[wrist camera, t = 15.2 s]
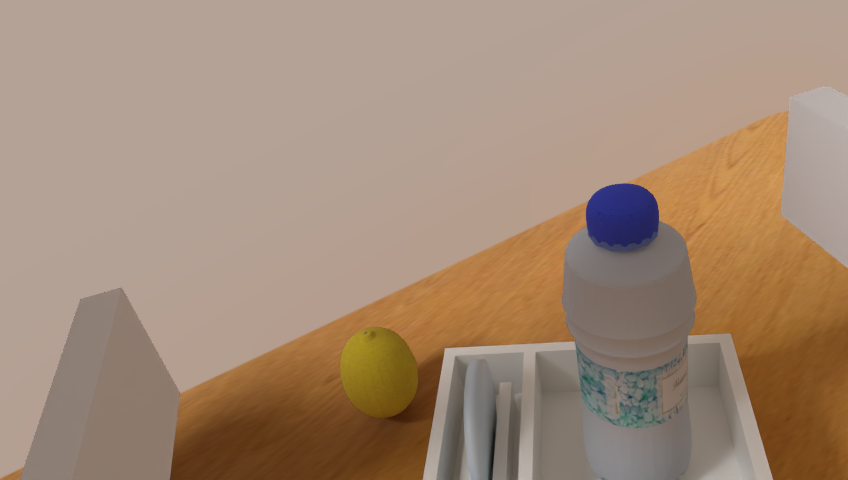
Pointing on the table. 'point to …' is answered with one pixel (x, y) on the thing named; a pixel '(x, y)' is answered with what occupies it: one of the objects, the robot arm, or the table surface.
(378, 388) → the lemon
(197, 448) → the table surface
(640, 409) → the bottle
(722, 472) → the divided tray
